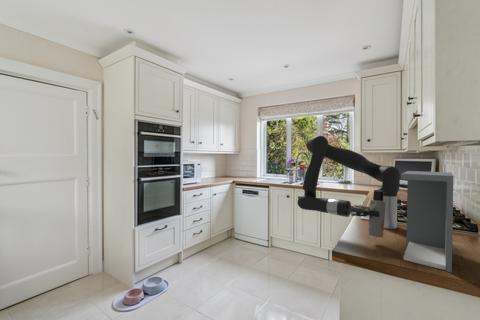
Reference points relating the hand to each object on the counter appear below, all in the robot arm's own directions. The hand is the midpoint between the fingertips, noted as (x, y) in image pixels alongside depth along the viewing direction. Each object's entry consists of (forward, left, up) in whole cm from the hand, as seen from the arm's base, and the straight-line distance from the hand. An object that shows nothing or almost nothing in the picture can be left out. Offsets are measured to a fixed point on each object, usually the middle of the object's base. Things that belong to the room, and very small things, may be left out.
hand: (379, 213), depth 98 cm
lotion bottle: (0, -2, -10) cm, 10 cm away
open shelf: (0, +16, -14) cm, 21 cm away
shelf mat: (+1, +15, -14) cm, 20 cm away
